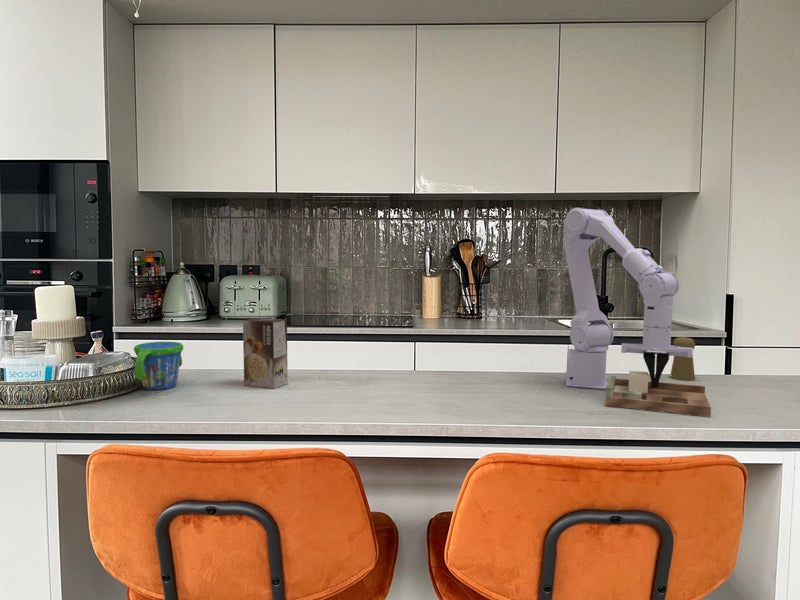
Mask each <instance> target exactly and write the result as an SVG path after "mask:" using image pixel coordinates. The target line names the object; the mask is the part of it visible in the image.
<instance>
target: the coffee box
mask: <svg viewBox="0 0 800 600" xmlns="http://www.w3.org/2000/svg"><path fill="white" fill-rule="evenodd" d="M242 340H243V342H242V343H243V346H242V347H243V348H242V349H243V384H244V386H249V387H257V388H269V389H278V388H279V387H282V386H285V385H288V384H289V382H288V381H289V380H288V379H289V377H288V371H289V368H288V320H287V319H283V318H280V319H279V318H268V317H267V318H264V317H254V318H248V319H244V320H242Z"/></svg>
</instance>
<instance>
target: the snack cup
mask: <svg viewBox="0 0 800 600" xmlns="http://www.w3.org/2000/svg"><path fill="white" fill-rule="evenodd" d="M183 350H184V345H183V343H182V342H178V341H153V342H151V341H150V342H144V343H140V344H139V343H138V344H137V345H135V346H134V347H133V351H134V353H135V355H136V360H135V363H134V364H135V366H134V371H133V372H134V373H133V374H134V378H135V379H137V380H141V384H142V388H143V389H144V388H145V389H147V390H153V391H155V390H156V391H157V390H160V391H161V390H167V389H168V390H169V389H171V388H173V387H175V386H177V384H178V377H179V372H180V371H179V370H180V368H181V367H182V365H183V358H182V354H181V353H182V352H183Z"/></svg>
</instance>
